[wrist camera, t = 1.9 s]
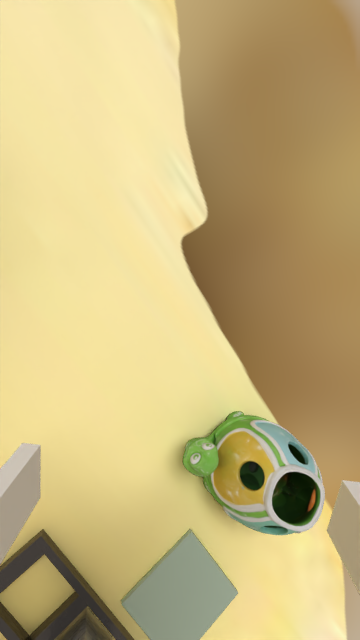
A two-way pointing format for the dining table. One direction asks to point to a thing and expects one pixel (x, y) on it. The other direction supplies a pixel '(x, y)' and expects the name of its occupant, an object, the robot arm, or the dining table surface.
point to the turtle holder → (259, 474)
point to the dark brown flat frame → (69, 609)
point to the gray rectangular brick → (85, 628)
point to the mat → (180, 593)
